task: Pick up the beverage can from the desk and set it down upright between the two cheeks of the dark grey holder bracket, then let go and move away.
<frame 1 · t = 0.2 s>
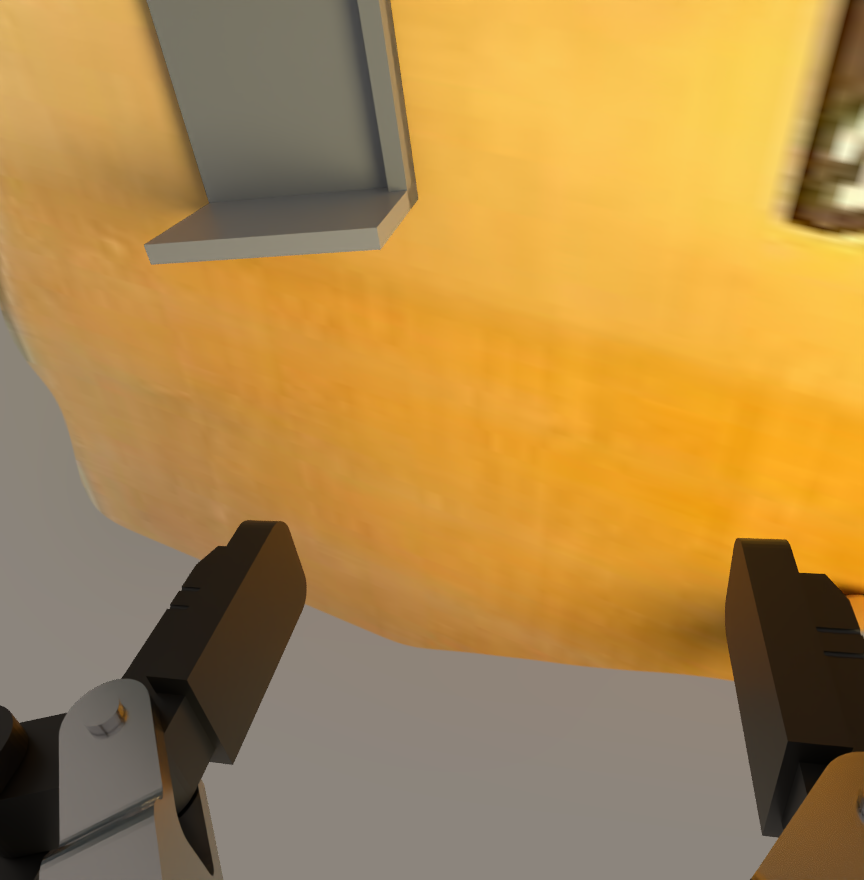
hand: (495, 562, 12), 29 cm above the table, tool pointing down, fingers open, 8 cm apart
plastic bottle: (849, 612, 48), on the table
holder: (285, 69, 35), on the table
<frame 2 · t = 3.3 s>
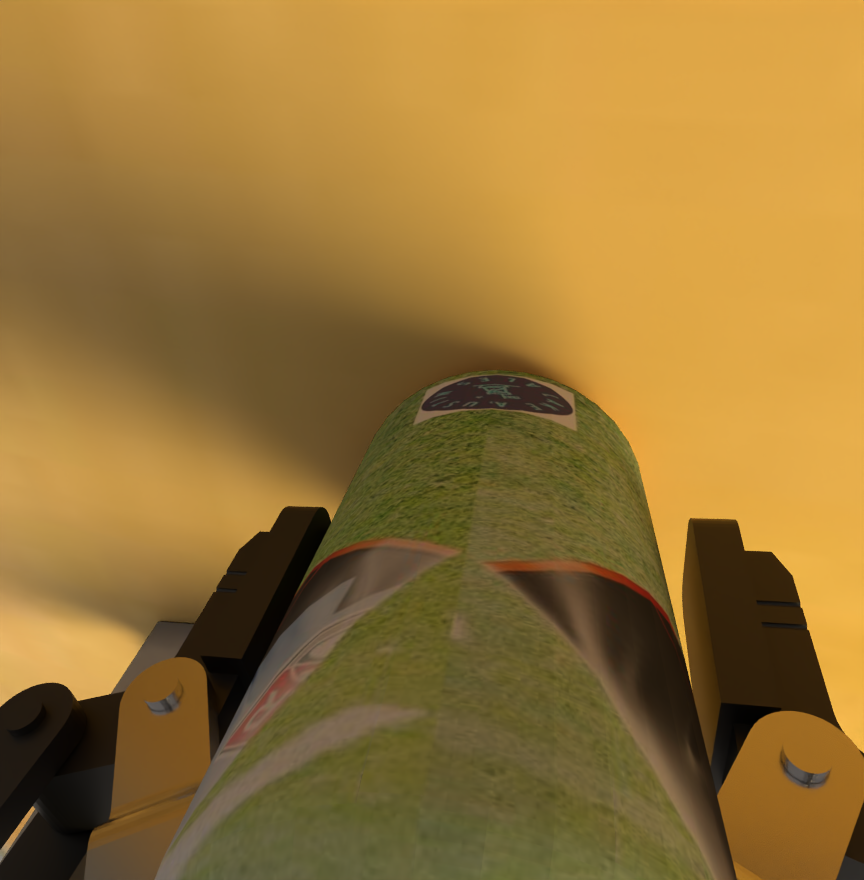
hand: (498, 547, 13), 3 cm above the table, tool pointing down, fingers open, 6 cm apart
holder: (374, 762, 25), on the table
beverage can: (516, 441, 15), on the table, touching gripper
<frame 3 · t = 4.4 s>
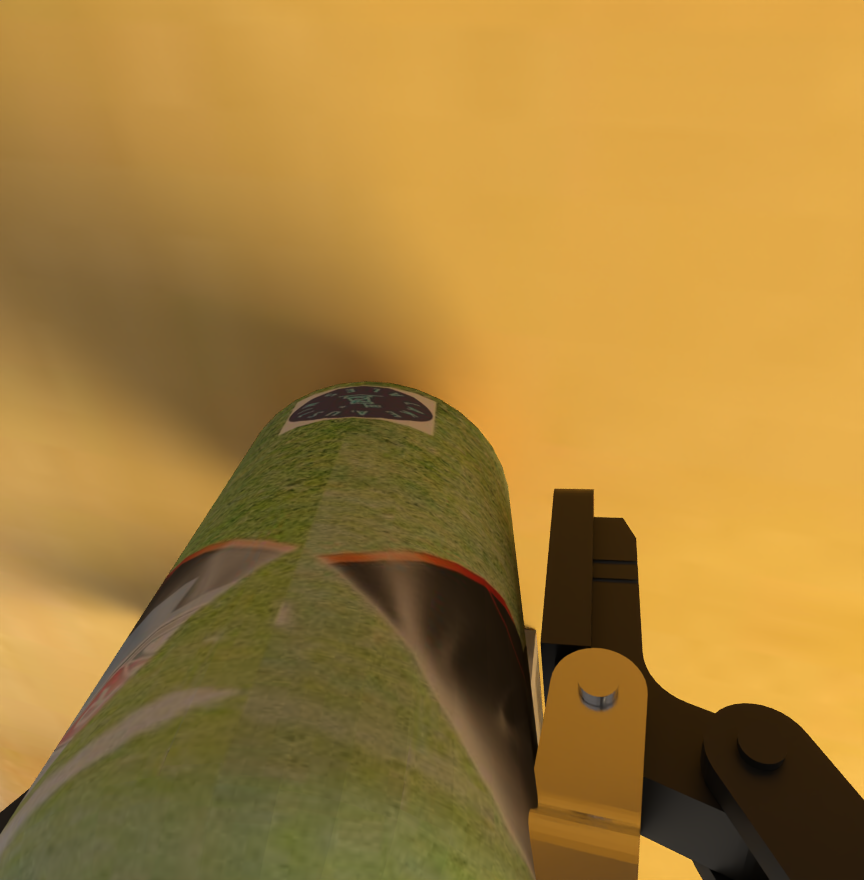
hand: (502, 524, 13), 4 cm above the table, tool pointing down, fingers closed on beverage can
holder: (383, 746, 25), on the table
beverage can: (392, 450, 16), point 1 cm above the table, touching gripper, hand
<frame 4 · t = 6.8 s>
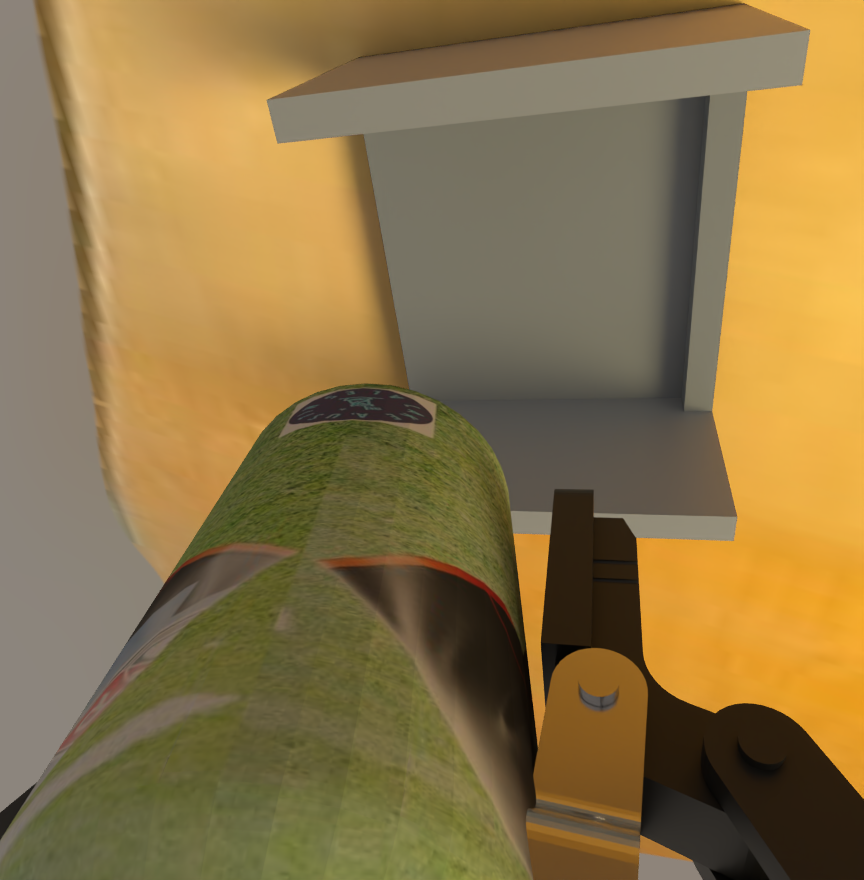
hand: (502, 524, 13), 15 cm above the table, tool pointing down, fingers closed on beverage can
holder: (547, 248, 25), on the table
beverage can: (392, 451, 16), point 13 cm above the table, touching gripper, hand
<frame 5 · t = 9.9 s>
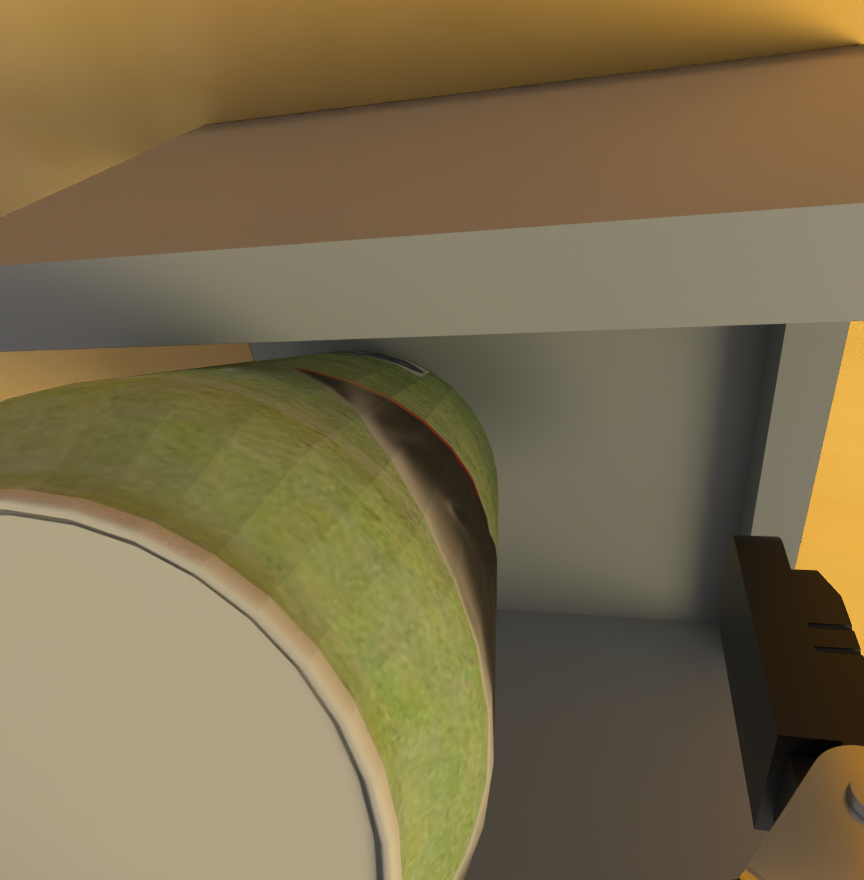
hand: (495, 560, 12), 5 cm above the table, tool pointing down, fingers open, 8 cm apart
holder: (521, 410, 16), on the table
beverage can: (384, 443, 16), point 2 cm above the table, touching holder
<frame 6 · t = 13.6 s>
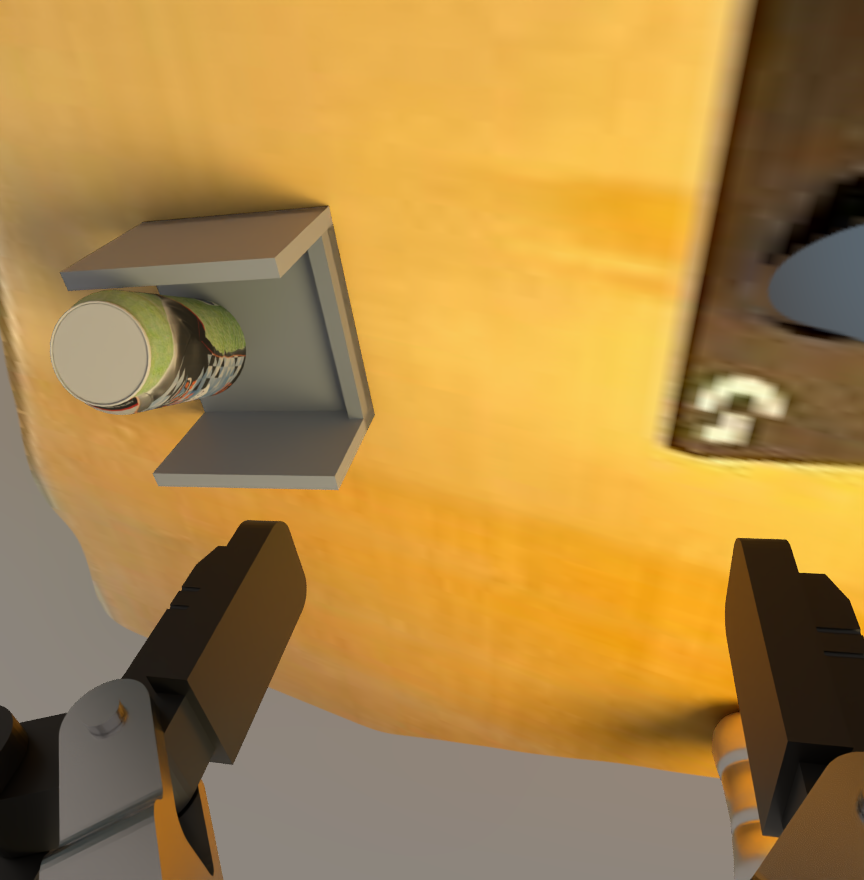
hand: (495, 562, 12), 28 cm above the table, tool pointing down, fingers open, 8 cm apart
plastic bottle: (749, 721, 57), on the table
holder: (265, 323, 44), on the table
beverage can: (211, 334, 43), point 2 cm above the table, touching holder
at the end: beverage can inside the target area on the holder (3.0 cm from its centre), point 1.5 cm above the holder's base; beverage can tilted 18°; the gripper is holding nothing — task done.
